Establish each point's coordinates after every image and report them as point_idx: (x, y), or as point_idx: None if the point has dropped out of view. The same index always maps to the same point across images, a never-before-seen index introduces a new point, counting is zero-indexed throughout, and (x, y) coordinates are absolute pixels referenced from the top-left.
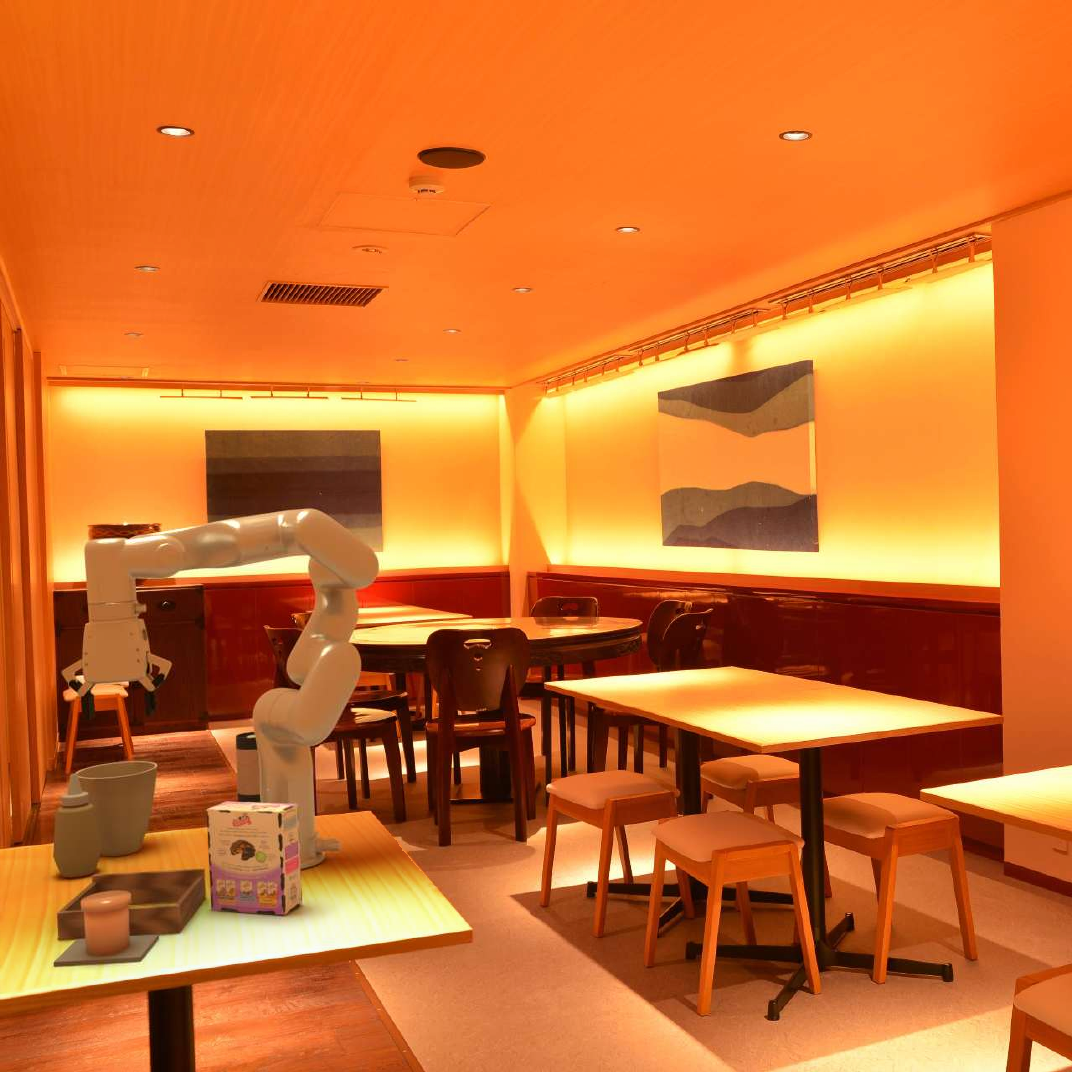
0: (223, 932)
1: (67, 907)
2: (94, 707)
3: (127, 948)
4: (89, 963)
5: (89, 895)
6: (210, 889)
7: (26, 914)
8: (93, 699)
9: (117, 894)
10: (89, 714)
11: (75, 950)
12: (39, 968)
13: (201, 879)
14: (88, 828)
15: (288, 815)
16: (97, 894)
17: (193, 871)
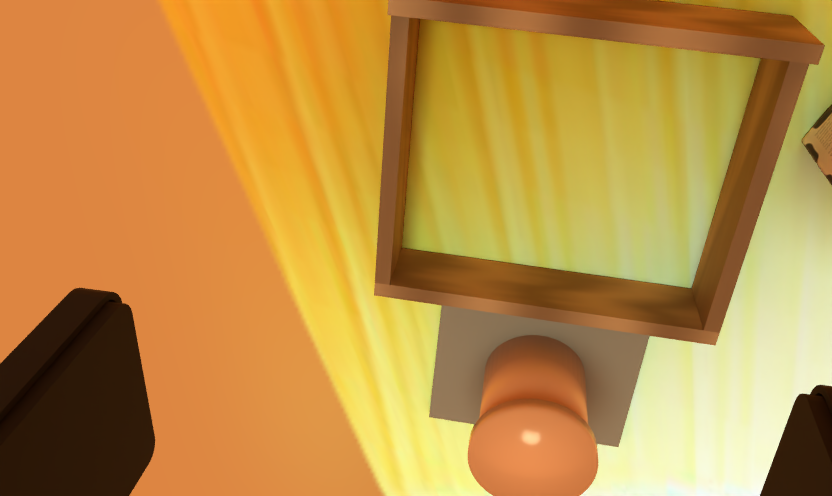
0: (821, 331)
1: (388, 256)
2: (70, 372)
3: None
4: None
5: (480, 429)
6: (822, 171)
7: (210, 8)
8: (9, 471)
9: (559, 446)
10: (130, 491)
11: (459, 368)
12: (402, 410)
13: (799, 90)
14: None
15: None
16: (501, 428)
17: (776, 58)
